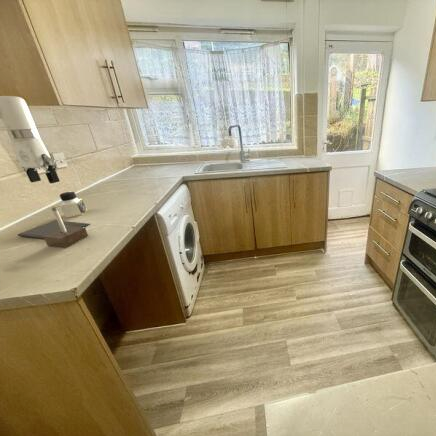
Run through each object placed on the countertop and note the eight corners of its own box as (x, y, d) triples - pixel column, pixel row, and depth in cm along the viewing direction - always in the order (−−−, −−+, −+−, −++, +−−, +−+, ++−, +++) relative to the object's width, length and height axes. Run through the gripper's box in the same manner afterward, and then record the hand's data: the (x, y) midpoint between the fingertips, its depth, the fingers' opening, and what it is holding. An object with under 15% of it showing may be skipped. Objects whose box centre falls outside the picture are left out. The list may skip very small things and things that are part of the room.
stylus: (68, 242, 100) (53, 208, 94) (65, 242, 100) (50, 208, 94) (72, 240, 101) (57, 207, 95) (69, 240, 101) (54, 206, 95)
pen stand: (65, 248, 95) (61, 238, 93) (47, 246, 97) (42, 236, 95) (89, 237, 103) (85, 227, 102) (71, 235, 106) (67, 225, 104)
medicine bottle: (82, 215, 126) (72, 193, 120) (65, 218, 123) (54, 196, 118) (87, 210, 132) (77, 189, 127) (71, 213, 129) (61, 191, 124)
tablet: (56, 240, 101) (55, 238, 101) (18, 235, 106) (17, 233, 106) (91, 225, 115) (90, 223, 114) (55, 221, 119) (55, 220, 119)
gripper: (-7, 136, 85) (17, 183, 92) (29, 136, 81) (51, 185, 88) (20, 134, 92) (40, 178, 99) (54, 134, 88) (72, 180, 95)
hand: (45, 181), depth 93 cm, fingers open, 9 cm apart
